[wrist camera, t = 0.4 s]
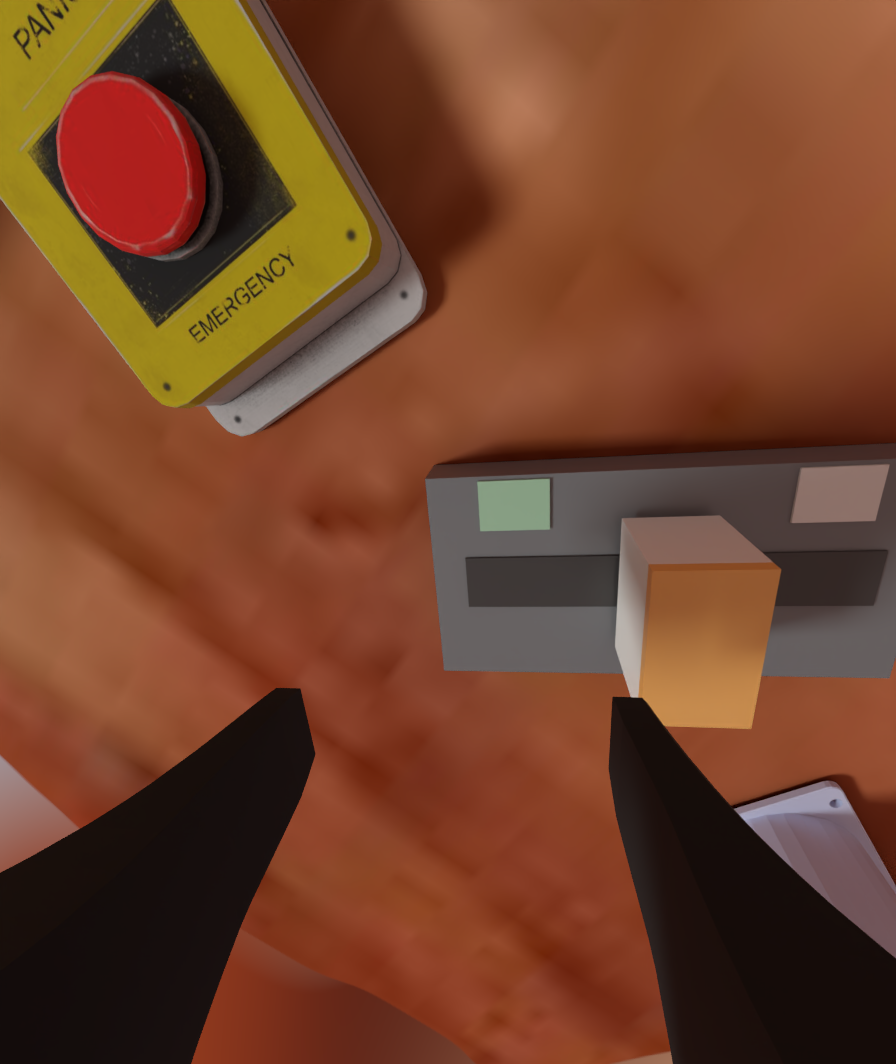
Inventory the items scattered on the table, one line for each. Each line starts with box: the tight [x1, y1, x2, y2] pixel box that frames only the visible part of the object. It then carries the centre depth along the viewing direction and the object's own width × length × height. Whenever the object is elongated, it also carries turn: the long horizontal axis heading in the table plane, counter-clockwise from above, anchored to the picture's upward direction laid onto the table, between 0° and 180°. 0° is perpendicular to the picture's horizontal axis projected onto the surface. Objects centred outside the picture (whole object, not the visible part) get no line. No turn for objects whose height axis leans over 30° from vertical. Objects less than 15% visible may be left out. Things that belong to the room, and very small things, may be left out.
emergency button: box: [0, 0, 427, 436], centre depth 14 cm, size 9×4×15 cm
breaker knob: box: [615, 515, 781, 729], centre depth 15 cm, size 3×5×4 cm, turn 5°
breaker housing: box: [425, 443, 896, 678], centre depth 18 cm, size 16×8×2 cm, turn 95°
